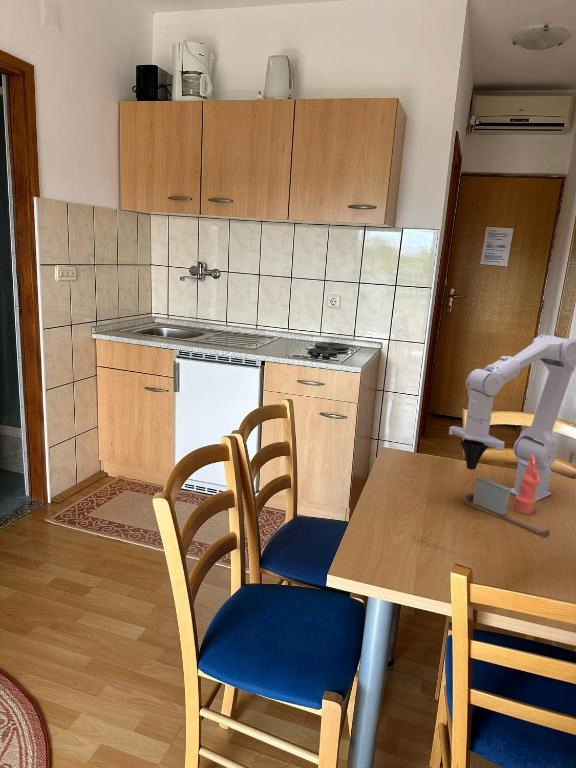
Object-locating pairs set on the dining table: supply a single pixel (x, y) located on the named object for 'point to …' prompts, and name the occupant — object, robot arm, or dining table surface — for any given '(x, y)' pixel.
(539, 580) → the dining table surface
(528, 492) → the figurine
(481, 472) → the dining table surface
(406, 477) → the dining table surface
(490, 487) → the screen
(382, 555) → the dining table surface
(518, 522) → the rail
